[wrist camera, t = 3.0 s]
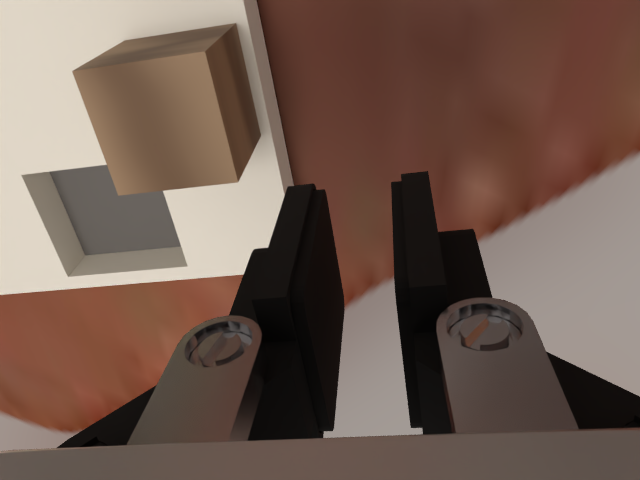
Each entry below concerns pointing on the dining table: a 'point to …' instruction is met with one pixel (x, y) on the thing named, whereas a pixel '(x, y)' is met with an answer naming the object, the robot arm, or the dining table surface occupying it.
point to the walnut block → (172, 110)
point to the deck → (90, 166)
